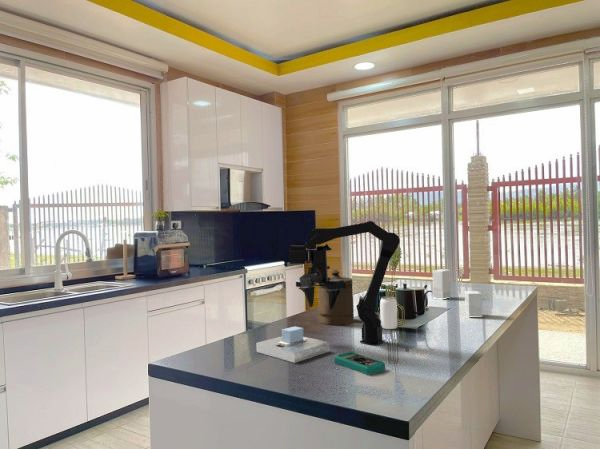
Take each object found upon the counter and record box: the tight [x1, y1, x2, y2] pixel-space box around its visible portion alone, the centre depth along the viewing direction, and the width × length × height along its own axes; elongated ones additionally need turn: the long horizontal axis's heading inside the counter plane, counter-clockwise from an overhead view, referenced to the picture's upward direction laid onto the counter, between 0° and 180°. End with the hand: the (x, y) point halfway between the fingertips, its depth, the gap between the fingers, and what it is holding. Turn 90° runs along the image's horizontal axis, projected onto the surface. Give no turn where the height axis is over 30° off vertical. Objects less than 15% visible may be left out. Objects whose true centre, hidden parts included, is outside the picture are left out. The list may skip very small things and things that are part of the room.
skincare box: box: [431, 268, 452, 298], centre depth 241 cm, size 8×7×16 cm
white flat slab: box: [255, 335, 331, 364], centre depth 147 cm, size 18×16×3 cm
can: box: [379, 295, 398, 330], centre depth 177 cm, size 6×6×12 cm
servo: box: [278, 326, 307, 348], centre depth 147 cm, size 4×10×8 cm, turn 134°
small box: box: [464, 290, 484, 317], centre depth 195 cm, size 8×6×10 cm
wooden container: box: [318, 269, 355, 326], centre depth 191 cm, size 15×15×22 cm
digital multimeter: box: [334, 351, 386, 376], centre depth 130 cm, size 7×15×3 cm, turn 36°
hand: (321, 307), depth 158 cm, fingers open, 9 cm apart
